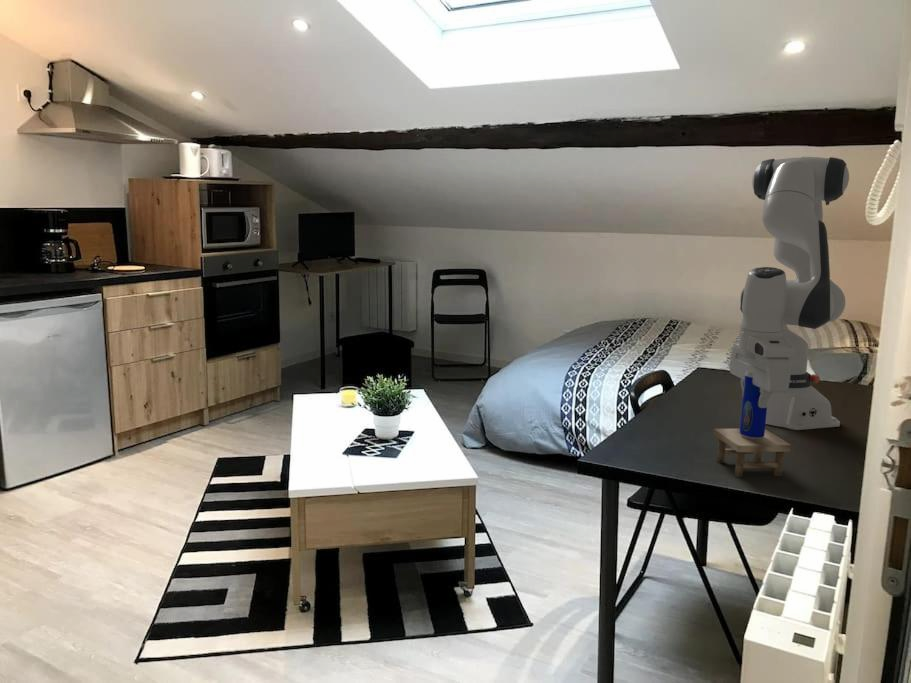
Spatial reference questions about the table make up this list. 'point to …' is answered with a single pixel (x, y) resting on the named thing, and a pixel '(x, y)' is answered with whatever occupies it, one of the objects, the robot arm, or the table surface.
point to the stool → (751, 449)
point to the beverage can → (752, 411)
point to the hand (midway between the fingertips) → (754, 403)
